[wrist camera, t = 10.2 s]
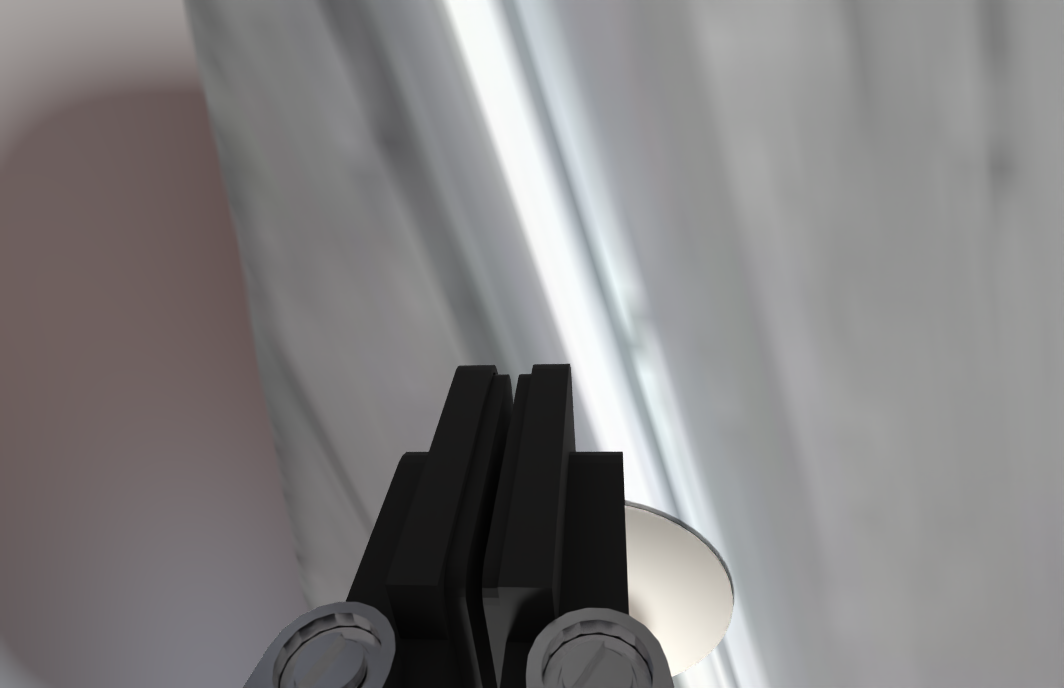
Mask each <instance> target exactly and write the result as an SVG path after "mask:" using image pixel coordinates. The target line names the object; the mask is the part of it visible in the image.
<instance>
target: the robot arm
mask: <svg viewBox="0 0 1064 688" xmlns="http://www.w3.org/2000/svg"><path fill="white" fill-rule="evenodd" d="M243 688H674V684H673V680H672V676H671V672H670V668H669V665H668V661H667V658H666V656H665V654H664V652H663V649H662V647H661V645H660V642H659V641H658V640H657V639H656V637H655V636H654V635H653V634H652V633H651V632H650V630H649V629H648V628H647V627H646V626H645V625H643V624H642V623H640V622H639V621H637V620H636V619H634V618H633V617H631V616H629V599H628V574H627V548H626V523H625V497H624V472H623V452H576V450H575V432H574V415H573V397H572V379H571V367H570V364H535V365H533V368H532V374H520V375H519V378H518V383H517V388H516V393H515V399H514V404H513V396H512V387H511V380H510V376H509V374H508V375H498V372H497V369H496V366H495V365H473V366H458V367H457V369H456V372H455V375H454V378H453V381H452V384H451V387H450V390H449V393H448V396H447V399H446V402H445V405H444V408H443V411H442V414H441V417H440V420H439V423H438V426H437V429H436V432H435V435H434V438H433V441H432V444H431V447H430V450H429V452H406V453H405V454H404V455H403V456H402V458H401V460H400V461H399V464H398V466H397V469H396V471H395V474H394V477H393V479H392V482H391V484H390V487H389V490H388V492H387V495H386V498H385V500H384V503H383V505H382V508H381V511H380V513H379V516H378V518H377V521H376V524H375V526H374V529H373V532H372V534H371V537H370V539H369V542H368V545H367V547H366V550H365V552H364V555H363V558H362V560H361V563H360V566H359V568H358V571H357V573H356V576H355V579H354V581H353V584H352V586H351V589H350V592H349V594H348V597H347V599H346V602H335V603H331V604H327V605H323V606H319V607H317V608H315V609H313V610H311V611H309V612H307V613H305V614H303V615H301V616H299V617H298V618H296V619H295V620H294V621H293V622H291V623H290V624H289V625H288V626H286V627H285V628H284V629H283V630H282V631H281V632H280V633H279V634H278V636H277V637H276V638H275V639H274V641H273V642H272V643H271V644H270V645H269V647H268V648H267V650H266V651H265V653H264V654H263V657H262V658H261V659H260V661H259V663H258V664H257V666H256V667H255V669H254V670H253V672H252V674H251V675H250V677H249V678H248V680H247V682H246V683H245V685H244V686H243Z"/></svg>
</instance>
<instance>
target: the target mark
mask: <svg viewBox="0 0 1064 688" xmlns="http://www.w3.org/2000/svg"><path fill="white" fill-rule="evenodd" d="M625 523H626V548H627V574H628V599H629V616H631V617H633V618H634V619H636V620H637V621H639V622H640V623H642V624H643V625H645V626H646V627H647V628H648V629H649V630H650V632H651V633H652V634H653V635H654V636H655V637H656V639H657V640H658V641H659V642H660V645H661V647H662V649H663V652H664V654H665V656H666V658H667V661H668V665H669V668H670V672H671V676H672V677H673V676H675V675H677V674H679V673H681V672H683V671H686V670H687V669H689V668H690V667H692V666H694V665H695V664H697V663H698V662H700V661H701V660H702V659H703V658H705V657H706V656H707V655H708V654H710V652H711V651H712V650H713V649H714V648H715V647H716V646H717V645H718V644H719V642H720V641H721V639H722V638H723V636H724V635H725V633H726V631H727V629H728V626H729V624H730V621H731V617H732V612H733V595H732V590H731V585H730V581H729V578H728V576H727V573H726V571H725V569H724V567H723V566H722V564H721V562H720V561H719V559H718V558H717V556H716V555H715V554H714V553H713V552H712V551H711V550H710V548H709V547H708V546H707V545H706V544H705V543H703V542H702V541H701V540H700V539H699V538H698V537H696V536H695V535H694V534H692V533H691V532H689V531H688V530H686V529H685V528H683V527H682V526H680V525H678V524H676V523H674V522H672V521H670V520H668V519H666V518H664V517H662V516H659V515H656V514H654V513H651V512H648V511H646V510H642V509H638V508H634V507H630V506H627V505H625Z"/></svg>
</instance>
